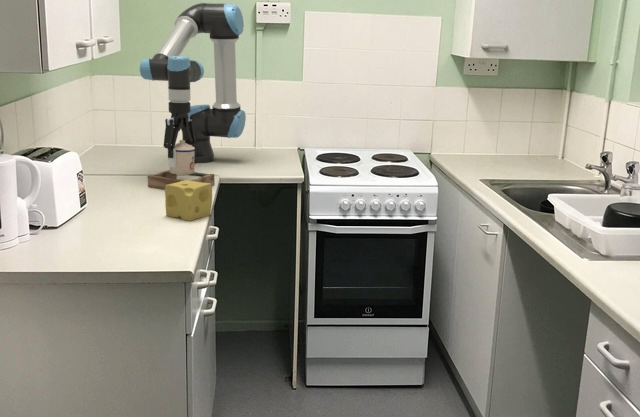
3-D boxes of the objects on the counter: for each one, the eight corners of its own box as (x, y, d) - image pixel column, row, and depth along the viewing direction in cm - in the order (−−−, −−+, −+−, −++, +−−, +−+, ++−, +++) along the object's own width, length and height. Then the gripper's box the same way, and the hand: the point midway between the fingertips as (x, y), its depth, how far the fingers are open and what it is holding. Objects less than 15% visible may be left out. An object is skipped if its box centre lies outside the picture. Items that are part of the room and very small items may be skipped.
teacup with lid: (195, 175, 246) (195, 142, 244) (169, 175, 244) (169, 141, 242) (193, 169, 258) (194, 137, 255) (168, 169, 256) (168, 137, 253)
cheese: (190, 221, 208) (189, 189, 206) (163, 215, 214) (162, 184, 211) (213, 214, 217) (212, 183, 215) (187, 209, 223) (186, 178, 220)
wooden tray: (173, 179, 262) (173, 168, 261) (214, 184, 255) (214, 174, 254) (147, 187, 249) (147, 176, 248) (190, 193, 242) (190, 182, 241)
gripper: (188, 98, 255) (189, 158, 261) (151, 103, 236) (153, 168, 241) (205, 99, 252) (206, 161, 258) (169, 104, 233) (171, 171, 238)
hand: (180, 164), depth 250 cm, fingers closed on teacup with lid, 9 cm apart
